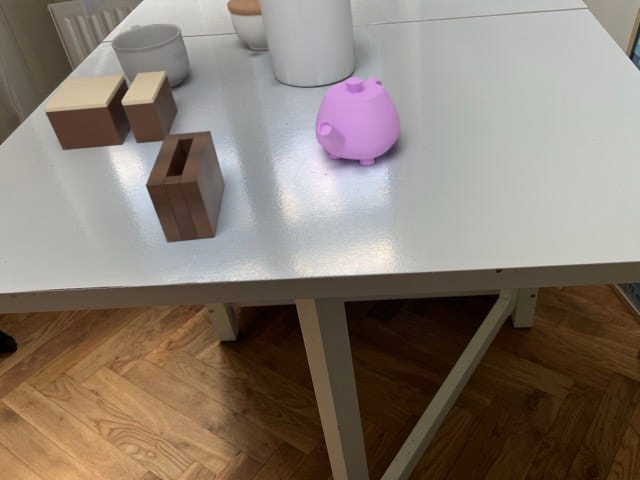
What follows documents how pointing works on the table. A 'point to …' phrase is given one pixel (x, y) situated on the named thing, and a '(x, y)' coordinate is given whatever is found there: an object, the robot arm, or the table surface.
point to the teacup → (152, 51)
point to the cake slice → (150, 106)
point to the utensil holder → (309, 40)
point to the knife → (90, 6)
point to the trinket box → (248, 23)
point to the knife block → (187, 186)
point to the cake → (89, 112)
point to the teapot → (357, 120)
